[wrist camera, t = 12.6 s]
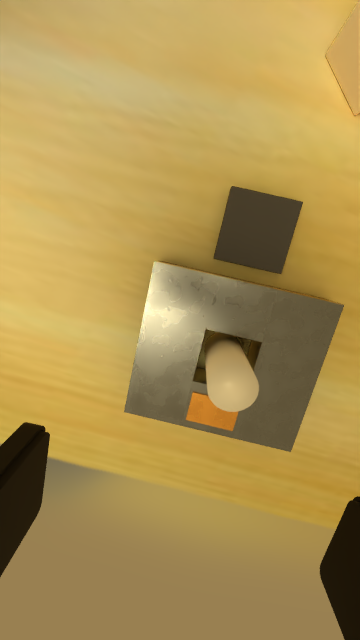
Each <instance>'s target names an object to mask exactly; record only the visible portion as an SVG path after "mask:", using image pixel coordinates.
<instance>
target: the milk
mask: <svg viewBox="0 0 360 640" xmlns="http://www.w3.org/2000/svg"><path fill="white" fill-rule="evenodd" d="M326 58H327V60H328V62H329V64H330V66H331V68H332V70H333V72H334V75H335V77H336V79H337V81H338V83H339V85H340V87H341V89H342V91H343V93H344V95H345V97H346V99H347V102H348V104H349V106H350V108H351V110H352V112H353V114H354V116H356V115H357V114H359V113H360V0H359V1H358V2H357V4H356V6H355V7H354V9H353V11H352V12H351V14H350V15H349V17H348V19H347V20H346V22H345V23H344V25H343V27H342V28H341V30H340V32H339V33H338V35H337V36H336V38H335V40H334V41H333V43H332V44H331V46H330V48H329V49H328V51H327V53H326Z"/></svg>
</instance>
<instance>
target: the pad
mask: <svg viewBox="0 0 360 640" xmlns="http://www.w3.org/2000/svg"><path fill="white" fill-rule="evenodd" d="M302 204H303V202H301V201H296V200H292V199H288V198H283V197H279V196H274V195H270V194H265V193H261V192H257V191H252V190H248V189H243V188H239V187H235V186H232V187H231V189H230V194H229V198H228V202H227V206H226V210H225V214H224V218H223V222H222V226H221V230H220V234H219V238H218V242H217V246H216V250H215V254H214V259H218V260H223V261H227V262H231V263H236V264H240V265H244V266H249V267H253V268H257V269H262V270H266V271H270V272H275V273H279V274H281V273H282V270H283V266H284V263H285V260H286V256H287V253H288V250H289V246H290V243H291V240H292V237H293V233H294V230H295V227H296V223H297V220H298V217H299V214H300V210H301V207H302Z"/></svg>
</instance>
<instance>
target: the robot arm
mask: <svg viewBox="0 0 360 640" xmlns="http://www.w3.org/2000/svg"><path fill="white" fill-rule="evenodd" d="M49 439H50V434H49V433H48V432H45V427H44V426H41V425H36V424H32V423H27V422H26V423H23V424H22V425H21V426H20V427H19V428H18V429H17V430H16V431H15V432H14V433H13V434H12V435H11V436H10V437H9V438H8V439H7V440H6V441H5V442H4V443H3V444H2V445H1V446H0V577H1V575H2V573H3V571H4V570H5V568H6V566H7V565H8V563H9V562H10V560H11V558H12V557H13V555H14V553H15V551H16V550H17V548H18V546H19V545H20V543H21V541H22V539H23V538H24V536H25V535H26V533H27V531H28V530H29V528H30V526H31V525H32V523H33V521H34V520H35V518H36V516H37V514H38V512H39V510H40V507H41V503H42V496H43V488H44V480H45V471H46V463H47V455H48V447H49ZM320 575H321V580H322V583H323V585H324V588H325V590H326V593H327V595H328V598H329V600H330V603H331V606H332V608H333V611H334V613H335V616H336V618H337V621H338V624H339V626H340V629H341V631H342V634H343V636H344V639H345V640H360V497H355V498H354V499H353V501H349V503H348V504H347V507H346V509H345V511H344V513H343V515H342V518H341V520H340V522H339V524H338V527H337V529H336V531H335V533H334V535H333V538H332V540H331V542H330V544H329V546H328V549H327V551H326V553H325V555H324V558H323V560H322V562H321V565H320Z"/></svg>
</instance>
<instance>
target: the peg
mask: <svg viewBox="0 0 360 640" xmlns="http://www.w3.org/2000/svg"><path fill="white" fill-rule="evenodd" d="M205 364H206V379H207V392H208V396H209V398H210V400H211V401H212V403H213V404H214V405H215V406H217V407H218V408H220V409H222V410H224V411H228V412H237V411H242V410H244V409H246V408H248V407H249V406H251V405H252V404H253V403H254V401H255V400H256V398H257V396H258V392H259V384H258V380H257V378H256V376H255V374H254V372H253V370H252V368H251V366H250V364H249V362H248V360H247V358H246V356H245V354H244V352H243V350H242V348H241V345H240V343H239V341H238V340H237V338H236V337H235V336H233V335H229V334H225V333H220V332H218V333H215V334H213V335H211V336H210V337H209V338H208V340H207V341H206V343H205Z"/></svg>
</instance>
